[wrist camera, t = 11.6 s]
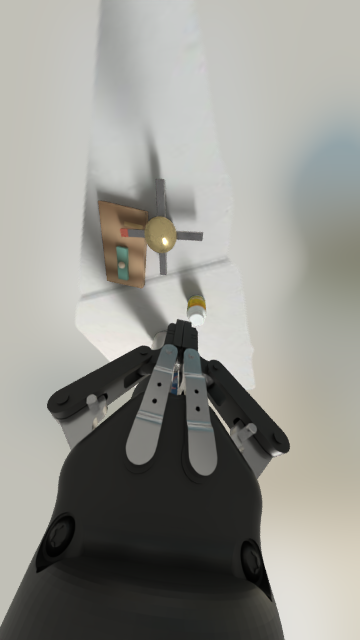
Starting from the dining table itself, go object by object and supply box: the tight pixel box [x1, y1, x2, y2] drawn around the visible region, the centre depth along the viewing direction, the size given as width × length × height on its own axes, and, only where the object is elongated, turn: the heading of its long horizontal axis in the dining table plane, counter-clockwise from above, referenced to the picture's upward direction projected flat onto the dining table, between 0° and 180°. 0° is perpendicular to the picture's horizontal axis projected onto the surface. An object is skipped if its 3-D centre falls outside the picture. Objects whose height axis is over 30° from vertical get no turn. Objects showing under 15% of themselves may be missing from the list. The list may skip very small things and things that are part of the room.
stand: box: [98, 201, 148, 288], centre depth 37 cm, size 18×10×5 cm, turn 169°
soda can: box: [171, 372, 178, 395], centre depth 66 cm, size 7×7×12 cm
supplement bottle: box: [187, 295, 206, 326], centre depth 43 cm, size 5×5×10 cm
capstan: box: [120, 179, 203, 275], centre depth 33 cm, size 17×17×7 cm
